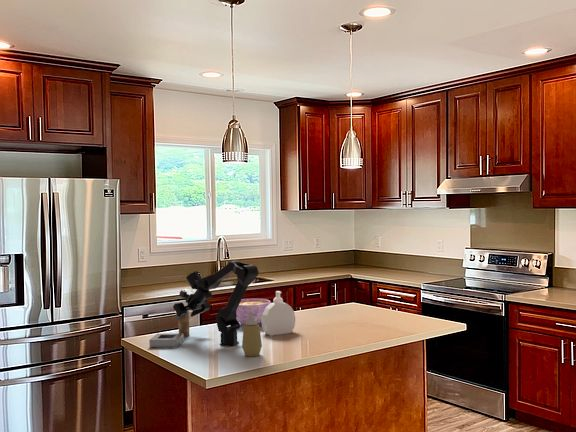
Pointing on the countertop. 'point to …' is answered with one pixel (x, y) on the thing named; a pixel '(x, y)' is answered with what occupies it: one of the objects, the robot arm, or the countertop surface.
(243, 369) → the countertop surface
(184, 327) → the walnut peg
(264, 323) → the soap bottle
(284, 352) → the countertop surface
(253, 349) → the squeeze bottle
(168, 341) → the socket block
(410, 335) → the countertop surface
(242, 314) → the bowl of food
